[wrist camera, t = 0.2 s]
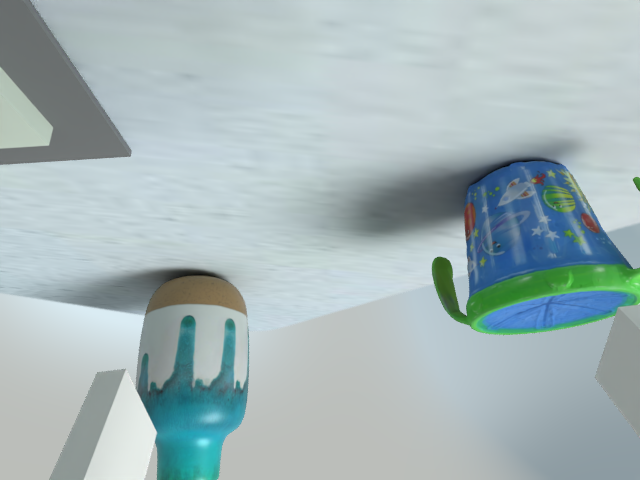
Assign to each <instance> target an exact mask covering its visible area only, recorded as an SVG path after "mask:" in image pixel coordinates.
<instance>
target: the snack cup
mask: <svg viewBox="0 0 640 480" xmlns="http://www.w3.org/2000/svg"><path fill="white" fill-rule="evenodd" d="M633 181H634V183H635V185H636V187H637V189H638V190H639V191H640V178H639V177H635V178H634V179H633ZM464 210H465V213H464V218H465V235H466V243H467V259H468V266H467V268H468V277H469V299H468V302H467V305H466V310H467V316H466V315H464V314H463V313H462V312H460V310H459V305H458V301H457V297H456V292H455V288H454V283H453V279H452V278H453V270H452V266H451V263H450V261H449V260H448V259H446V258H443V257H437V258H435V259H434V261H433V263H432V276H433V280H434V284H435V287H436V291H437V293H438V296H439V299H440V301H441V303H442V305H443V307H444V308H445V310H446V311H447V313H448V314H449V315H450V316H451V317H452V318H454V319H455V320H456V321H458V322H460V323H464V324H467V325H470V326H471V328H472V329H474V330H476V331H478V332H482V333H488V334H503V335H510V334H511V335H512V334H527V333H537V332H546V331H552V330H559V329H565V328H570V327H574V326H579V325H584V324H588V323H592V322H596V321H599V320H602V319H606V318H609V317H612V316H615V315H616V312H617V309H618V307H624V306H632V305H638V304H639V303H640V268H637V269H633V268H632V267H631V265H630V264H629V263H628V262H627V260H626V259H625V258H624V257H623V255H622V254H621V253H620V251H619V250H618V249H617V248H616V246H615V245H614V244H613V242H612V241H611V240H610V239H609V237H608V236H607V234H606V232H605V231H604V230H603V228H602V227H601V225H600V223H599V221H598V219H597V217H596V215H595V214H594V212H593V210H592V208H591V206H590V205H589V203H588V201H587V199H586V198H585V196H584V194H583V192H582V191H581V189H580V187H579V186H578V184H577V182H576V180H575V179H574V177H573V175H572V174H570V172H569V171H568V170H567V168H566V167H565V166H564V165H562V164H558V165H557V164H554V163H550V162H545V161H530V162H517V163H512V164H510V166H507V167H503V168H501V169H498V170H495V171H494V172H492V173H490V174H488V175H487V176H486V177H484V178H483V179H482V180H480V181H479V182H477V183H475V184H473V185H471V186H470V187H469V188H468V192H467V196H466V198H465V203H464Z"/></svg>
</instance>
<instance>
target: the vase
mask: <svg viewBox="0 0 640 480" xmlns="http://www.w3.org/2000/svg"><path fill="white" fill-rule="evenodd" d="M248 377H249V334H248V319H247V310H246V305H245V302H244V299H243V297H242V296H241V294H240V292H239V291H238V290H237V288H236V287H235V286H233V285H232V284H231V283H229V282H227V281H225V280H222V279H219V278H215V277H210V276H199V275H196V276H184V277H179V278H175V279H172V280H170V281H168V282H166V283H164V284H163V285H161V286H160V287H159V288H158V289H157V290H156V291H155V293H154V294H153V296H152V298H151V299H150V301H149V304H148V307H147V310H146V314H145V318H144V323H143V328H142V334H141V340H140V347H139V355H138V365H137V377H136V390H137V392H138V394H139V397H140V399H141V401H142V403H143V405H144V407H145V409H146V411H147V413H148V415H149V417H150V419H151V421H152V423H153V425H154V428H155V430H156V432H157V434H156V438H155V444H156V447H157V459H158V461H157V480H217V479H218V477H219V470H220V458H221V450H222V445H223V442H224V440H225V438H226V436H227V435H228V434H229V433H231V432H232V431H234V430H235V429H236V428H238V427H239V425H240V424H241V422H242V420H243V418H244V414H245V409H246V403H247V393H248Z"/></svg>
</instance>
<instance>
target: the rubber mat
mask: <svg viewBox="0 0 640 480" xmlns="http://www.w3.org/2000/svg"><path fill="white" fill-rule="evenodd" d="M0 67H1V68H2V69H3V70H4V72H5V73H6V74H7V75H8V76H9V77H10V78H11V80H12V81H13V82H14V83H15V84H16V85H17V87H18V88H19V89H20V90H21V91H22V92H23V93H24V95H25V96H26V97H27V98H28V99H29V100H30V101H31V103H32V104H33V105H34V106H35V107H36V108H37V109H38V111H39V112H40V113H41V114H42V115H43V116H44V117H45V119H46V120H47V121H48V122H49V123H50V124H51V125H52V127H53V131H52V135H51V139H50V143H49V146H34V147H18V148H2V149H0V165H3V164H19V163H35V162H50V161H66V160H82V159H98V158H114V157H130V156H131V149H130V148H129V146H128V145H127V144H126V142H125V141H124V139H123V138H122V136H121V135H120V133H119V132H118V130H117V129H116V127H115V126H114V124H113V123H112V121H111V120H110V118H109V117H108V115H107V114H106V112H105V111H104V110H103V108H102V107H101V105H100V104H99V102H98V101H97V99H96V98H95V96H94V95H93V93H92V92H91V90H90V89H89V87H88V86H87V84H86V83H85V81H84V80H83V78H82V77H81V76H80V74H79V73H78V71H77V70H76V68H75V67H74V65H73V64H72V62H71V61H70V59H69V58H68V56H67V55H66V53H65V52H64V50H63V49H62V47H61V46H60V44H59V43H58V42H57V40H56V39H55V37H54V36H53V34H52V33H51V31H50V30H49V28H48V27H47V25H46V24H45V22H44V21H43V19H42V18H41V16H40V15H39V13H38V12H37V10H36V9H35V8H34V6H33V5H32V3H31V2H30V0H0Z"/></svg>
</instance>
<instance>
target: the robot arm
mask: <svg viewBox="0 0 640 480" xmlns="http://www.w3.org/2000/svg"><path fill="white" fill-rule="evenodd" d="M595 378H596V380H597V381H598V382H599V384H600V385H601V387H602V388H603V389H604V390H605V392H606V393H607V394H608V396H609V397H610V399H611V400H612V401H613V403H614V404H615V405H616V407H617V408H618V409H619V411H620V412H621V413H622V415H623V416H624V417H625V419H626V420H627V421H628V423H629V424H630V425H631V427H632V428H633V430H634V431H635V432H636V434H637V435H638V436H639V438H640V305H632V306H624V307H618V309H617V312H616V315H615V318H614V321H613V324H612V327H611V330H610V333H609V336H608V339H607V342H606V345H605V348H604V351H603V354H602V358H601V360H600V363H599V366H598V369H597V372H596V375H595ZM156 434H157V432H156V430H155V428H154V425H153V423H152V421H151V419H150V417H149V415H148V413H147V411H146V409H145V407H144V405H143V403H142V401H141V399H140V397H139V394H138V392H137V390H136V388H135V386H134V384H133V382H132V380H131V378H130V376H129V374H128V372H127V370H126V369H121V370H113V371H106V372H98V373H97V374H96V376H95V379H94V381H93V383H92V385H91V387H90V390H89V392H88V394H87V396H86V399H85V401H84V403H83V405H82V407H81V410H80V412H79V414H78V416H77V419H76V421H75V423H74V425H73V428H72V430H71V432H70V434H69V436H68V439H67V441H66V443H65V445H64V448H63V450H62V452H61V454H60V457H59V459H58V461H57V464H56V466H55V468H54V470H53V472H52V474H51V477H50V479H49V480H144V479H145V476H146V472H147V468H148V464H149V460H150V457H151V453H152V449H153V446H154V442H155V438H156Z"/></svg>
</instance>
